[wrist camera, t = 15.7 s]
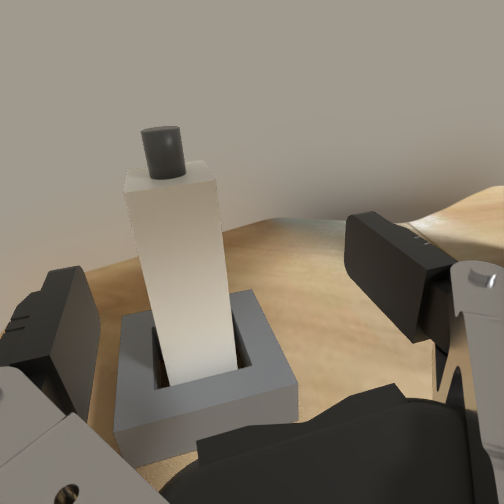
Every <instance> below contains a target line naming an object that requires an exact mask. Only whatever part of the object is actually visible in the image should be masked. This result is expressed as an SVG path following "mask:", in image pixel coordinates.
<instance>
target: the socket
mask: <svg viewBox="0 0 504 504" xmlns="http://www.w3.org/2000/svg"><path fill="white" fill-rule="evenodd" d="M229 298H230V306H231V315H232V324H233V332H234V341H235V343H236V345H237V348H238V351H239V354H240V357H241V360H242V363H243V366H244V368H241V369H237V370H233V371H229V372H225V373H221V374H217V375H213V376H209V377H206V378H202V379H198V380H194V381H190V382H186V383H182V384H178V385H174V386H170V387H166V388H161V372H160V360H164V358H163V354H162V350H161V346H160V342H159V338H158V334H157V329H156V325H155V321H154V317H153V313H152V310H149V311H144V312H139V313H134V314H129V315H124V316H122V324H121V337H120V350H119V362H118V375H117V388H116V401H115V414H114V427H113V434H114V436H115V439H116V442H117V444H118V447H119V450H120V452H121V455H122V458H123V459H124V460H125V461H126V462H127V463H128V464H129V465H130V466H131V467H132V468H137V467H140V466H144V465H147V464H150V463H154V462H157V461H161V460H164V459H168V458H171V457H175V456H178V455H181V454H185V453H188V452H192V451H195V450H197V445H196V441H197V440H200V439H204V438H207V437H210V436H214V435H217V434H221V433H224V432H228V431H231V430H234V429H238V428H241V427H245V426H248V425H266V424H286V423H292V422H295V421H298V382H297V380H296V378H295V376H294V374H293V372H292V370H291V368H290V366H289V364H288V362H287V359H286V357H285V355H284V353H283V351H282V349H281V347H280V345H279V343H278V341H277V339H276V337H275V335H274V333H273V331H272V329H271V327H270V325H269V323H268V321H267V319H266V317H265V315H264V313H263V311H262V309H261V307H260V305H259V303H258V301H257V299H256V297H255V295H254V293H253V291H252V289H250V290H245V291H240V292H235V293H231V294H229Z"/></svg>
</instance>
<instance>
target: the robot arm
mask: <svg viewBox="0 0 504 504" xmlns="http://www.w3.org/2000/svg"><path fill="white" fill-rule="evenodd" d="M344 264H345V268H346V271H347V273H348V275H349V277H350V278H351V279H352V280H353V281H354V282H355V283H356V284H357V285H358V286H359V287H360V288H361V289H362V291H363V292H364V293H365V294H366V295H367V296H368V297H369V298H370V299H371V300H372V301H373V302H374V303H375V304H376V305H377V306H378V307H379V308H380V310H381V311H382V312H383V313H384V314H385V315H386V316H387V317H388V318H389V319H390V320H391V321H392V322H393V323H394V324H395V325H396V326H397V327H398V329H399V330H400V331H401V332H402V333H403V334H404V335H405V336H406V337H407V338H408V339H409V340H410V341H411V342H412V343H413V344H414V343H417V342H421V341H425V340H428V339H431V340H432V341H433V342H434V344H433V348H432V388H433V400H427V399H419V398H406V397H405V396H404V395H403V394H402V392H401V391H400V390H399V388H398V387H397V386H396V385H395V383H392V384H389V385H385V386H382V387H379V388H375V389H372V390H368V391H365V392H361V393H358V394H355V395H351V396H349V397H347V398H345V399H344V400H342V401H340V402H339V403H337V404H336V405H334V406H332V407H331V408H329V409H327V410H326V411H324V412H322V413H321V414H319V415H318V416H316V417H314V418H313V419H311V420H309V421H307V422H303V423H286V424H266V425H248V426H245V427H241V428H238V429H234V430H231V431H228V432H224V433H221V434H217V435H214V436H210V437H207V438H204V439H200V440H197V441H196V445H197V452H198V459H197V460H196V461H194V462H192V463H191V464H189V465H187V466H186V467H185V468H184V469H182V470H181V471H180V472H178V473H177V474H176V475H175V476H174V477H173V478H172V479H170V480H169V481H168V482H167V483H166V484H165V485H164V486H163V487H162V489H161V490H160V491H159V492H157V491H156V490H155V489H154V488H153V487H152V486H151V485H150V484H149V483H148V482H147V481H146V480H145V479H144V478H143V477H142V476H141V475H140V474H138V473H137V472H136V471H135V470H134V469H133V468H132V467H131V466H130V465H129V464H128V463H127V462H126V461H125V460H124V459H123V458H122V457H121V456H120V455H119V454H118V453H117V452H116V451H115V450H113V449H112V448H111V447H110V446H109V445H108V444H107V443H106V442H105V441H104V440H103V439H102V438H101V437H100V436H99V435H98V434H97V433H96V432H95V431H94V430H93V429H92V428H91V427H90V426H89V425H87V419H88V412H89V405H90V398H91V392H92V385H93V378H94V371H95V365H96V358H97V351H98V344H99V338H100V319H99V314H98V311H97V308H96V305H95V302H94V299H93V296H92V294H91V291H90V288H89V285H88V282H87V280H86V277H85V274H84V272H83V270H82V268H81V267H80V266H73V267H68V268H63V269H57V270H52V271H49V272H48V274H47V277H46V279H45V282H44V284H43V286H42V288H41V291H37V292H33V293H31V294H29V296H27V297H26V298H25V299H24V300H23V301H22V302H21V303H20V304H19V305H18V306H17V307H16V309H15V311H14V313H13V315H12V317H11V322H9V323H8V325H7V327H6V329H5V333H4V334H3V335H2V337H1V339H0V504H504V268H503V267H501V266H498V265H496V264H492V263H489V262H484V261H476V260H467V261H460V262H458V261H457V260H455V259H454V258H452V257H450V256H449V255H447V254H446V253H444V252H443V251H441V250H440V249H438V248H437V247H435V246H433V245H432V244H428V242H427V241H426V240H424V239H423V238H421V237H418V235H416V234H415V233H413V232H412V231H410V230H409V229H407V228H405V227H402V226H399V225H396V224H393V223H391V222H389V221H388V220H386V219H384V218H383V217H382V216H380V215H379V214H377V213H376V212H373V211H370V212H365V213H360V214H355V215H350V216H349V217H348V218H347V221H346V233H345V251H344Z"/></svg>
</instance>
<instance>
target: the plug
mask: <svg viewBox="0 0 504 504" xmlns="http://www.w3.org/2000/svg"><path fill="white" fill-rule="evenodd" d="M141 135H142V140H143V145H144V150H145V155H146V160H147V165H148V167H144V168H136V169H129V170H127V174H126V180H125V186H124V197H125V201H126V206H127V210H128V214H129V218H130V222H131V226H132V230H133V234H134V238H135V243H136V246H137V251H138V255H139V259H140V263H141V267H142V272H143V276H144V280H145V284H146V288H147V292H148V296H149V301H150V305H151V309H152V313H153V317H154V321H155V325H156V329H157V334H158V338H159V342H160V346H161V350H162V354H163V358H164V362H165V367H166V371H167V375H168V379H169V383H170V386H174V385H178V384H182V383H186V382H190V381H194V380H198V379H202V378H206V377H209V376H213V375H217V374H221V373H225V372H229V371H233V370H237V369H238V367H237V358H236V350H235V341H234V332H233V324H232V315H231V306H230V298H229V289H228V280H227V272H226V263H225V254H224V246H223V237H222V228H221V220H220V212H219V203H218V195H217V186H216V179H215V178H214V176H213V174H212V173H211V171H210V170H209V168H208V167H207V165H206V163H205V162H204V160H199V161H191V162H185V161H184V154H183V148H182V142H181V135H180V128H179V127H177V126H163V127H154V128H149V129H145V130H142V131H141Z"/></svg>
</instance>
